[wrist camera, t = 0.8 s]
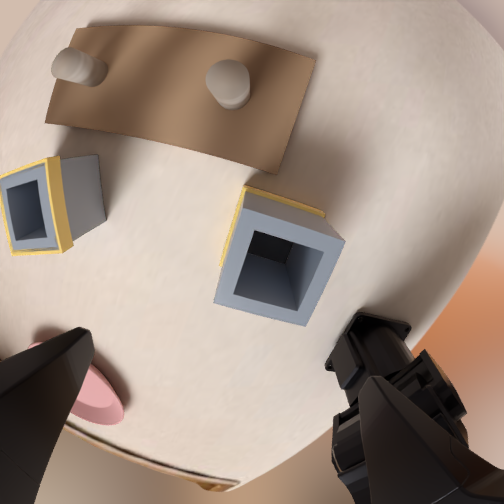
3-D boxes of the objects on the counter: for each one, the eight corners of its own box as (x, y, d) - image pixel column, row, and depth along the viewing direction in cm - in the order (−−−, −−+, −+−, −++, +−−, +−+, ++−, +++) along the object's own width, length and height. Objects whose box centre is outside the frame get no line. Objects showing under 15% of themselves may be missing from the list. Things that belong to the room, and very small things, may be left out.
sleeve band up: (99, 151, 16) (46, 157, 10) (108, 223, 18) (62, 253, 12) (49, 164, 16) (-3, 176, 11) (58, 228, 18) (11, 256, 13)
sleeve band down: (321, 210, 18) (350, 239, 12) (293, 279, 20) (307, 330, 14) (243, 184, 17) (239, 201, 12) (220, 258, 19) (208, 304, 13)
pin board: (312, 64, 14) (333, 38, 9) (275, 173, 17) (284, 182, 12) (82, 31, 12) (47, 14, 7) (52, 123, 15) (9, 123, 10)
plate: (36, 310, 22) (26, 319, 20) (143, 383, 24) (138, 396, 23) (33, 372, 26) (27, 381, 24) (115, 426, 29) (111, 436, 27)
